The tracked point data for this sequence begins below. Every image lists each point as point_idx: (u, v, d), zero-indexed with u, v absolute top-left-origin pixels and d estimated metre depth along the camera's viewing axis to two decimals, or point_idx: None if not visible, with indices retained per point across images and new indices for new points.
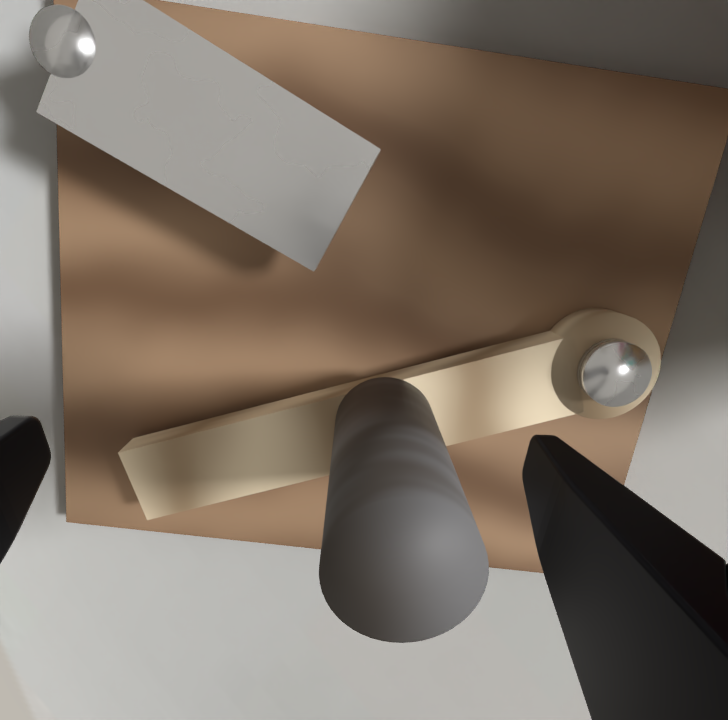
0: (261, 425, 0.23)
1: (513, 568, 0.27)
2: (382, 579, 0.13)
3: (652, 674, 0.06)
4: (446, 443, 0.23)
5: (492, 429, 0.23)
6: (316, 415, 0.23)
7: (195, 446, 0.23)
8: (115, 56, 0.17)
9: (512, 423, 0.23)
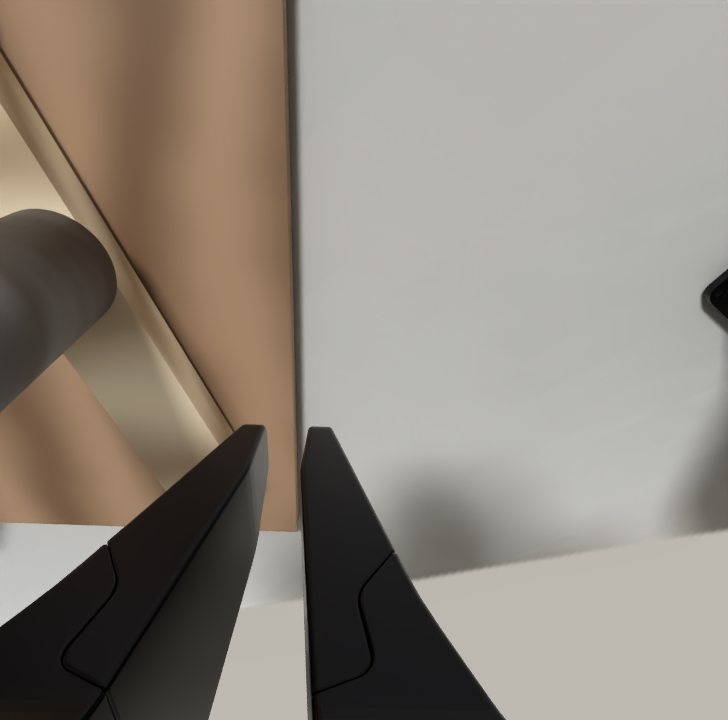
0: (106, 397, 0.21)
1: (280, 12, 0.16)
2: None
3: (307, 666, 0.06)
4: (49, 186, 0.17)
5: (2, 121, 0.16)
6: (74, 345, 0.20)
7: (151, 452, 0.22)
8: None
9: None
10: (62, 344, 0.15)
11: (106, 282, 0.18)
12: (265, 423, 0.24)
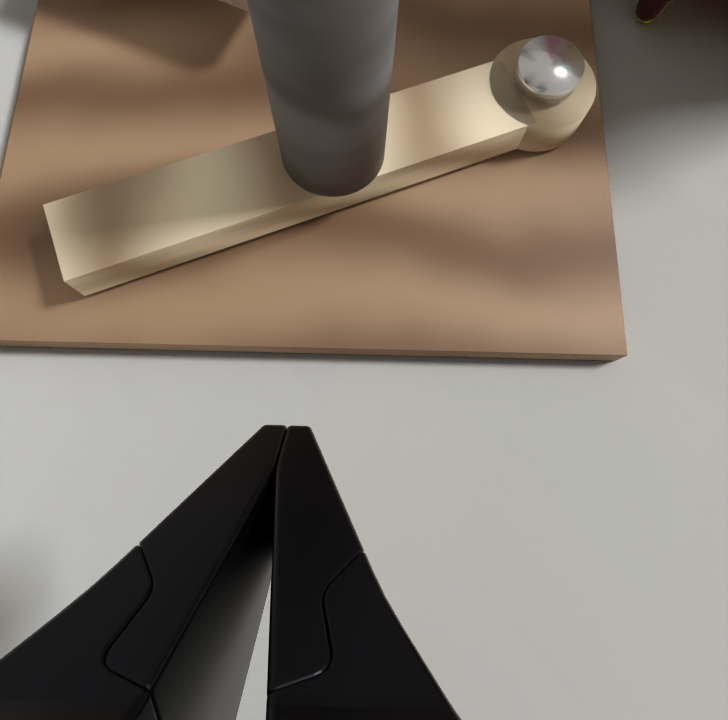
0: (203, 163, 0.21)
1: (521, 350, 0.22)
2: None
3: None
4: (401, 164, 0.22)
5: (447, 146, 0.22)
6: (261, 148, 0.22)
7: (130, 190, 0.21)
8: None
9: (465, 139, 0.22)
10: (301, 130, 0.17)
11: (329, 185, 0.20)
12: (144, 313, 0.22)
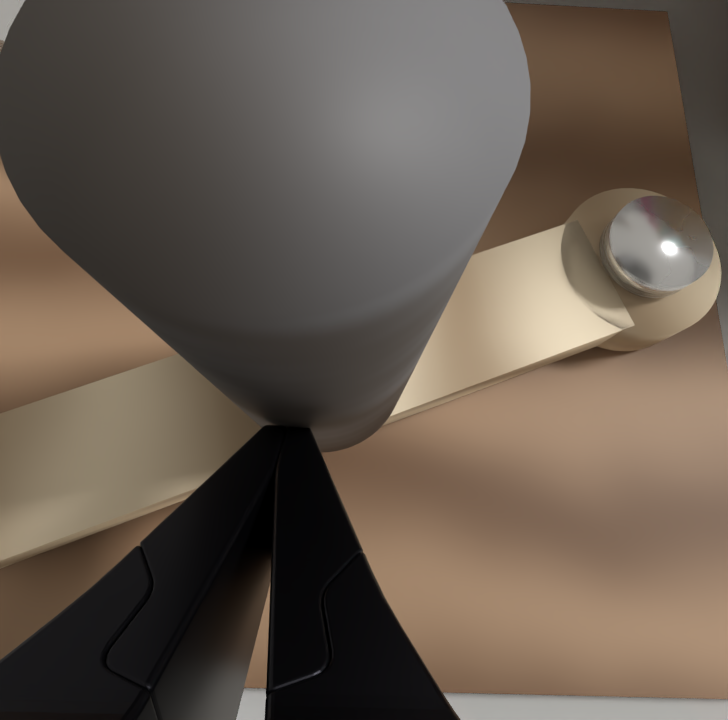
0: (115, 390, 0.14)
1: (616, 693, 0.14)
2: (202, 94, 0.04)
3: None
4: (429, 396, 0.14)
5: (499, 365, 0.14)
6: None
7: None
8: None
9: (528, 353, 0.14)
10: (260, 421, 0.10)
11: None
12: (15, 625, 0.14)
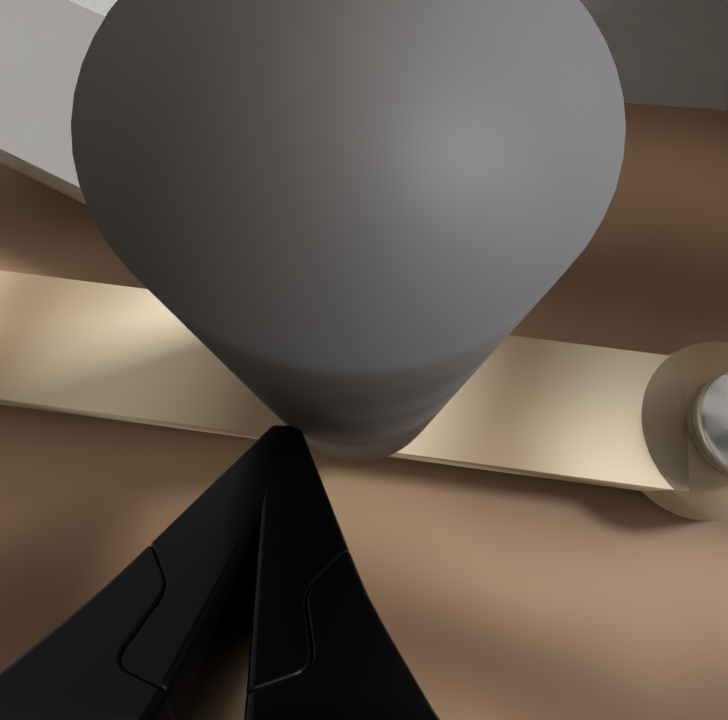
0: None
1: None
2: (277, 91, 0.04)
3: None
4: (443, 453, 0.13)
5: (526, 459, 0.13)
6: None
7: (62, 299, 0.14)
8: (18, 45, 0.14)
9: (562, 463, 0.13)
10: None
11: (310, 446, 0.12)
12: None
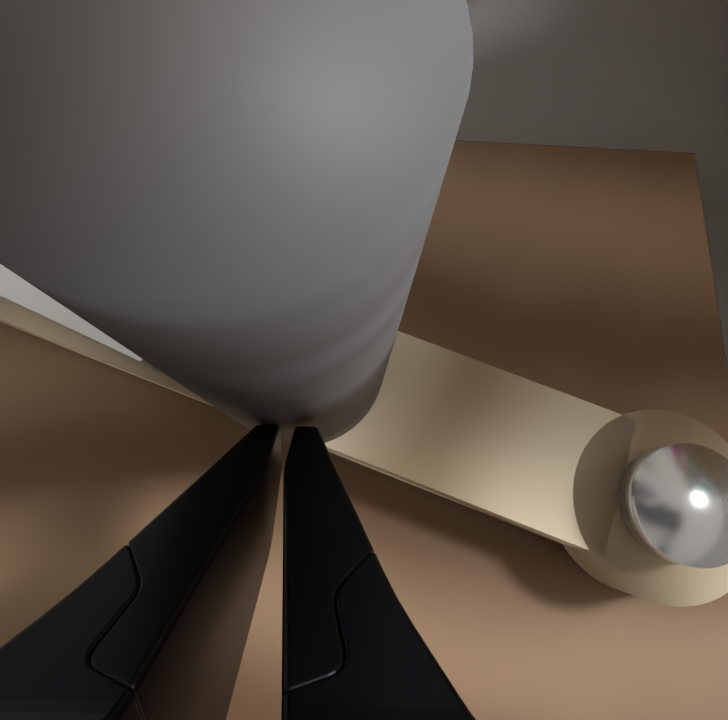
0: None
1: None
2: (114, 12, 0.04)
3: None
4: (366, 457, 0.13)
5: (447, 483, 0.13)
6: None
7: None
8: None
9: (482, 495, 0.13)
10: None
11: None
12: None
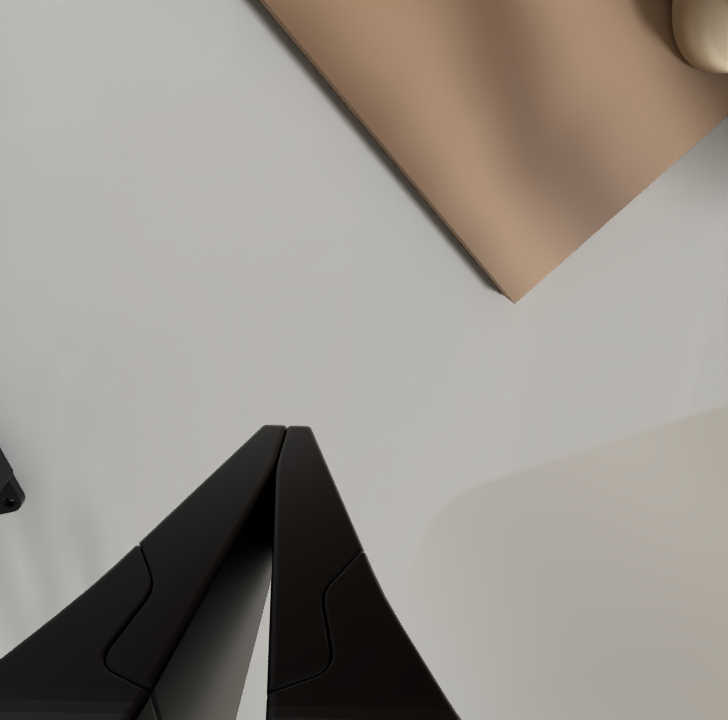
0: None
1: (450, 222, 0.19)
2: None
3: None
4: None
5: None
6: None
7: None
8: None
9: None
10: None
11: None
12: None
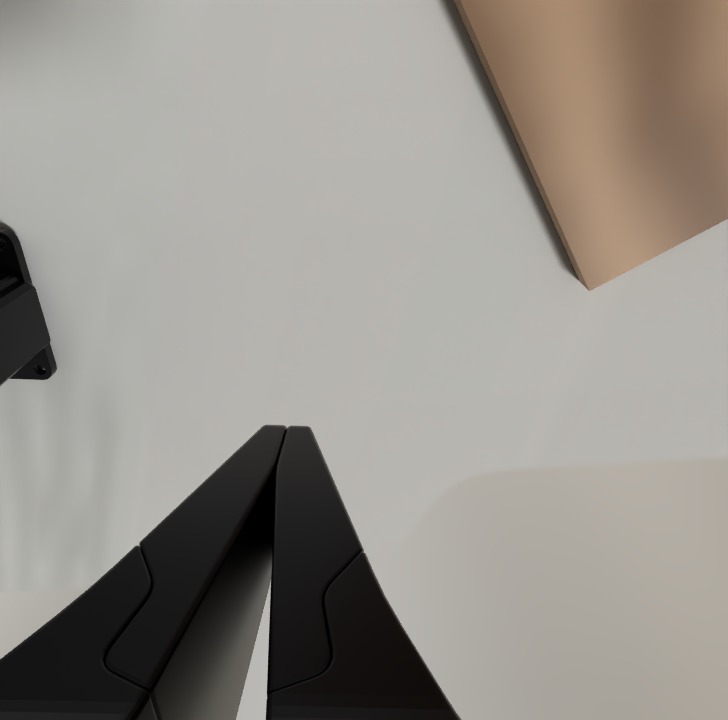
0: None
1: (545, 186, 0.18)
2: None
3: None
4: None
5: None
6: None
7: None
8: None
9: None
10: None
11: None
12: None
